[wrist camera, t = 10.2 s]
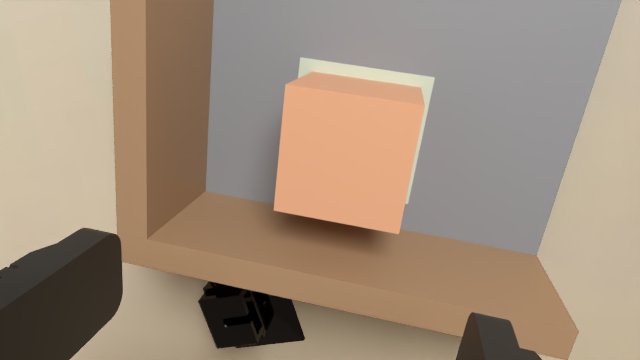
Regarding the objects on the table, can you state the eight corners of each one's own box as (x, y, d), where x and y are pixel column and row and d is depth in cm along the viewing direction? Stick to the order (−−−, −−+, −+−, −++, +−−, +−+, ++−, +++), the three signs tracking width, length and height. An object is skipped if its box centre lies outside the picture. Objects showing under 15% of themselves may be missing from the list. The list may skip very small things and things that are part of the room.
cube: (420, 87, 24) (424, 105, 19) (400, 190, 26) (398, 234, 21) (312, 71, 25) (285, 84, 20) (301, 172, 27) (273, 210, 22)
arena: (623, -32, 22) (734, -61, 14) (524, 270, 28) (567, 360, 20) (197, -80, 25) (106, -126, 17) (188, 203, 31) (117, 260, 23)
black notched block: (321, 349, 33) (308, 397, 29) (232, 360, 35) (208, 406, 31) (270, 194, 30) (247, 223, 26) (175, 215, 32) (139, 244, 27)
